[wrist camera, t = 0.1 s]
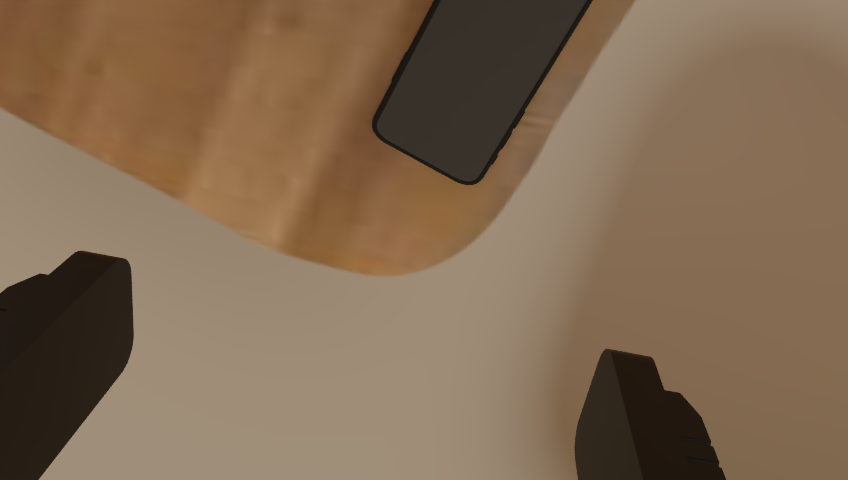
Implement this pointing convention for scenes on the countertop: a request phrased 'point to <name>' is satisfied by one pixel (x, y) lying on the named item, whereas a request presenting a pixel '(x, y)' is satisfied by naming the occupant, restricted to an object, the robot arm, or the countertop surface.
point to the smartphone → (472, 80)
